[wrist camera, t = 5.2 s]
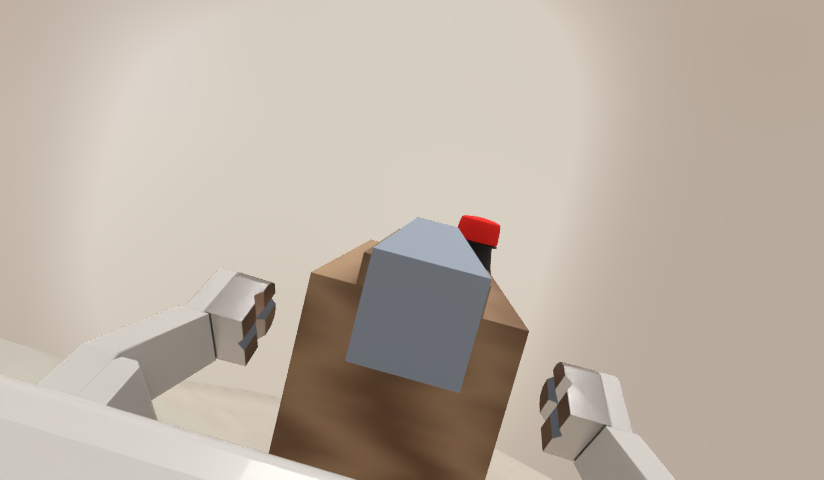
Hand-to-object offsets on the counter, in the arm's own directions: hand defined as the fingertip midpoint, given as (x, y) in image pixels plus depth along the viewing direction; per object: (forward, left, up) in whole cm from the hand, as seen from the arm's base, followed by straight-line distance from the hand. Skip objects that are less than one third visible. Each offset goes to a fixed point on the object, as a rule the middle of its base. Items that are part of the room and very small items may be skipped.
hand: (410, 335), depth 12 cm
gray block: (0, +9, -1) cm, 9 cm away
